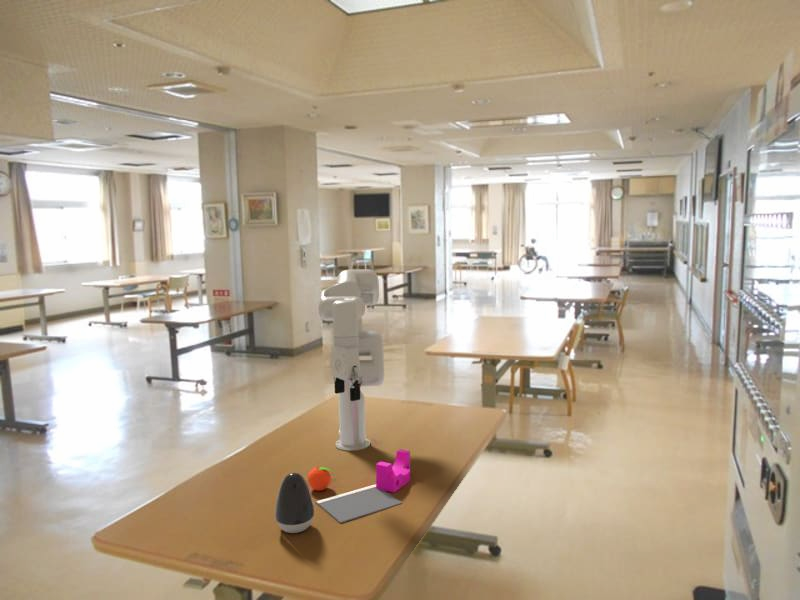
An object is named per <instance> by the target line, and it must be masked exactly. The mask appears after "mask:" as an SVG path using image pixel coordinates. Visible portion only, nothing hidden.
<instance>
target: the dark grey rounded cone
mask: <svg viewBox="0 0 800 600" xmlns="http://www.w3.org/2000/svg"><path fill="white" fill-rule="evenodd" d="M309 487H310V486H309V484H308V483H307V481H306V479H305V478H304V477H303V475H302V474H301V473H299V472H296V471H295V472H290V473H287V474H286V475H285V476H284V478H283V480H282V481H281V483H280V486H279V489H278V492H277V496H276V502H275V508H274V518H275V521H276V523H277V525H278V527H279V528H280V530H282V531H283V532H285V533H289V534H298V533H301V532H303V531H306V530H307V529H308V528H309V527H310V525H311V523H312V521H313V518H314V516H315V506H314V502H313V497H312V494H311V491H310V488H309Z"/></svg>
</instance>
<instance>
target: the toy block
mask: <svg viewBox="0 0 800 600" xmlns="http://www.w3.org/2000/svg"><path fill="white" fill-rule="evenodd" d="M375 465H376V466H375V468H376V469H375V473H376V475H375V481H376V482H375V484H376V488H377V489H381V490H384V491H386V492H389V493H396V492H397V491H398V490H400V489H401V488H402V487H403V486H405V485H406V484H407V483H408V482H410V480H411V451H410V450H407V449H398V450H396V456H395V459H394V462H393V464H392V463H390V462H384V461H379V462H377V463H376V464H375Z"/></svg>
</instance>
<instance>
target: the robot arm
mask: <svg viewBox="0 0 800 600" xmlns="http://www.w3.org/2000/svg"><path fill="white" fill-rule="evenodd" d="M379 298H380V282H379V277H378V274H377V273H376V271H374V270H373V269H370V268H369V269H368V268H367V269H365V268H364V269H346V270H342V271H341V272H340V273H338V275H337V279H336V284H334V285H331V286H330V287H327V288H326V289H324V290H323V291H322V292H321V294H320V297H319V300H318V309H317V311H318V315H319V317H320V319H321V320H323V321H327V322H331V321H332V336H333V338H332V339H333V347H332V352H331V353H332V354H331V355H332V356H331V373H332V376H333V381H334V393H335V394H338V416H339V417H338V420H339V421H338V422H339V427H338V428H339V430H338V431H337V434H338V435H339V439H338V440H336V441H335V447H336V448H337V449H339V450H341V451H346V452H347V451H349V452H350V451H351V452H355V451H362V450H364V449H367V448H369V446H371V440H370V438H367V435H366V434H367V433H366V399H365V395H364V393H363V392H362V390H361V387H377V386H379V387H380V386H381V385H382V384H383V383H384V379H385V361H384V360H385V359H384V356H385V355H384V343H383V341H384V340H383V337H382V334H381V333H380V332H379V331H377V330H363V317H364V315H365V312H366V306H368V307H369V306H370V307H371V306H375V305H376V304H378V302H379V300H380V299H379ZM367 357H368V358H370V359H360V358H367Z"/></svg>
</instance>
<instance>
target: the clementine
mask: <svg viewBox="0 0 800 600" xmlns="http://www.w3.org/2000/svg"><path fill="white" fill-rule="evenodd" d="M331 474H332V475H333V476H334V473H333V472H332V470H331V469H329V468H328V467H324V466H315V467H314V468H313V469H311V470H310V471H309V472H308V476H307V482H308V483H307V484H308V486H309V487H310V488H311V489H313V490H314V491H318V492H320V491H324V490H325V489H327V487H328V486H330V484H331V479H332V475H331Z"/></svg>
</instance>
